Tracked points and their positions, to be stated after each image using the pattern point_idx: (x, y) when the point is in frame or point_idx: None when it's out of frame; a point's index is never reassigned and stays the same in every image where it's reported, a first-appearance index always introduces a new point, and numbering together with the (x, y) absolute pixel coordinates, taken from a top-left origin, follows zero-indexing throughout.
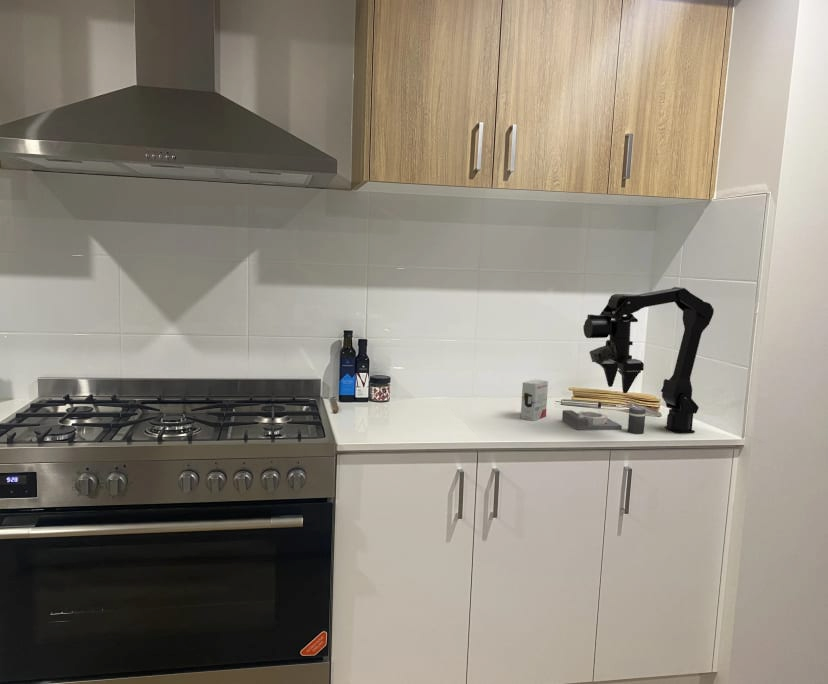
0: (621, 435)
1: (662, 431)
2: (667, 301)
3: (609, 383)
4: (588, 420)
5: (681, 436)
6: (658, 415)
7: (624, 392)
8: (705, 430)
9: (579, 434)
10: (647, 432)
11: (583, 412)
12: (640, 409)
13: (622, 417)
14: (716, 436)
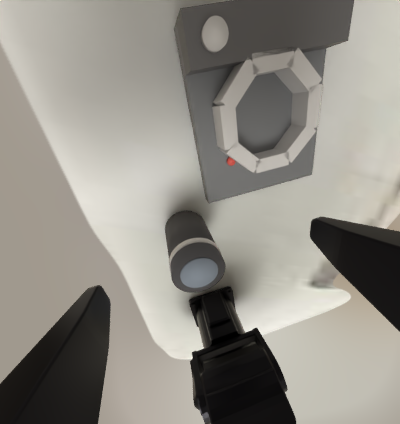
0: (137, 185)
1: None
2: None
3: (331, 234)
4: (224, 88)
5: (166, 305)
6: (318, 284)
7: (89, 295)
8: None
9: (100, 8)
10: None
11: (307, 90)
12: (188, 280)
13: None
14: (180, 346)
